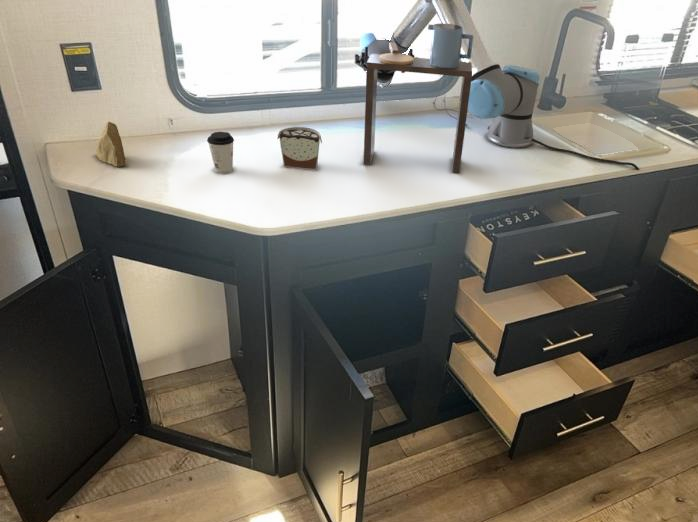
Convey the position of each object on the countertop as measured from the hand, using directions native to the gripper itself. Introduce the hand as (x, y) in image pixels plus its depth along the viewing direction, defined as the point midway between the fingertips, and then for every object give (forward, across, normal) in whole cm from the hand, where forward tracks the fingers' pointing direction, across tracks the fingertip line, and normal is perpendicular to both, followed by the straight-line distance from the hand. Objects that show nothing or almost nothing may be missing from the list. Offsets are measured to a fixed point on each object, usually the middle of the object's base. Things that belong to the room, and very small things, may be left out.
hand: (389, 52), depth 182 cm
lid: (+16, 0, -6) cm, 17 cm away
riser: (+7, -7, -34) cm, 35 cm away
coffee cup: (+15, +47, -38) cm, 62 cm away
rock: (+11, +78, -36) cm, 86 cm away
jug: (+22, -13, -9) cm, 27 cm away
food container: (+10, +26, -36) cm, 45 cm away
